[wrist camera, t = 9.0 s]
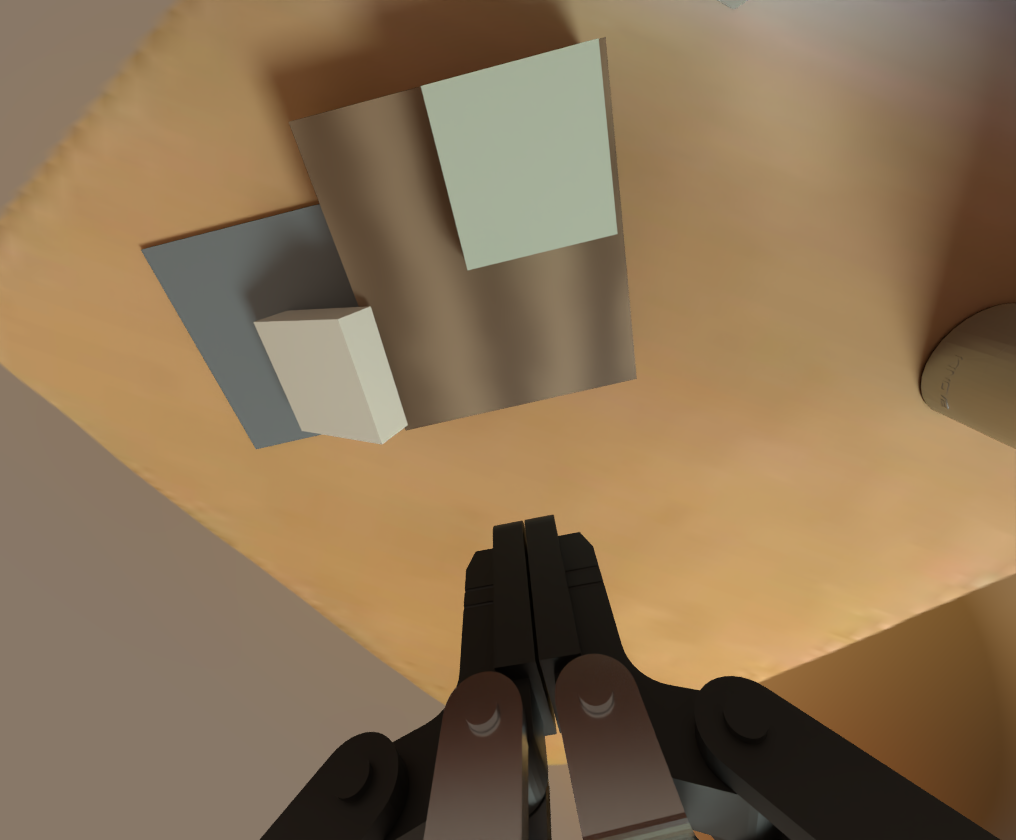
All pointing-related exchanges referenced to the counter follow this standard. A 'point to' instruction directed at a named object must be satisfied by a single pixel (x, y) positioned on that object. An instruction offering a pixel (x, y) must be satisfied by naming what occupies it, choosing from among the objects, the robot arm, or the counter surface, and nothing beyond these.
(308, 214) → the grey mat
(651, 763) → the robot arm
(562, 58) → the sage tile
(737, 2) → the skincare box
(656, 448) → the counter surface
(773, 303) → the counter surface
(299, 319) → the cream tile
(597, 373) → the walnut board
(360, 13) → the counter surface
